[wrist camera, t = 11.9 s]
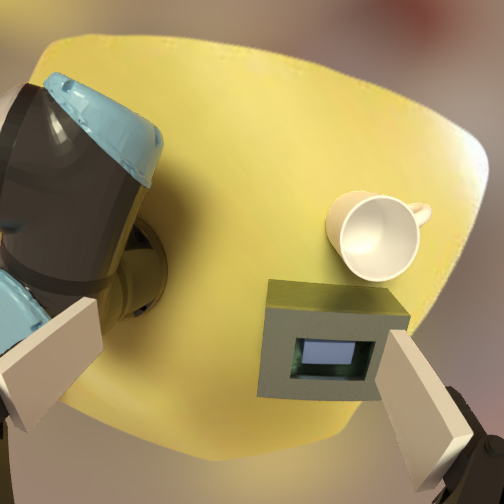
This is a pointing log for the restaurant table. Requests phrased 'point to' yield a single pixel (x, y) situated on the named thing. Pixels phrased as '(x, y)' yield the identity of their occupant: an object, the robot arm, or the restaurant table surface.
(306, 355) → the blue block
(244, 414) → the restaurant table surface
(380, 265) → the mug
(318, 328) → the coin box
